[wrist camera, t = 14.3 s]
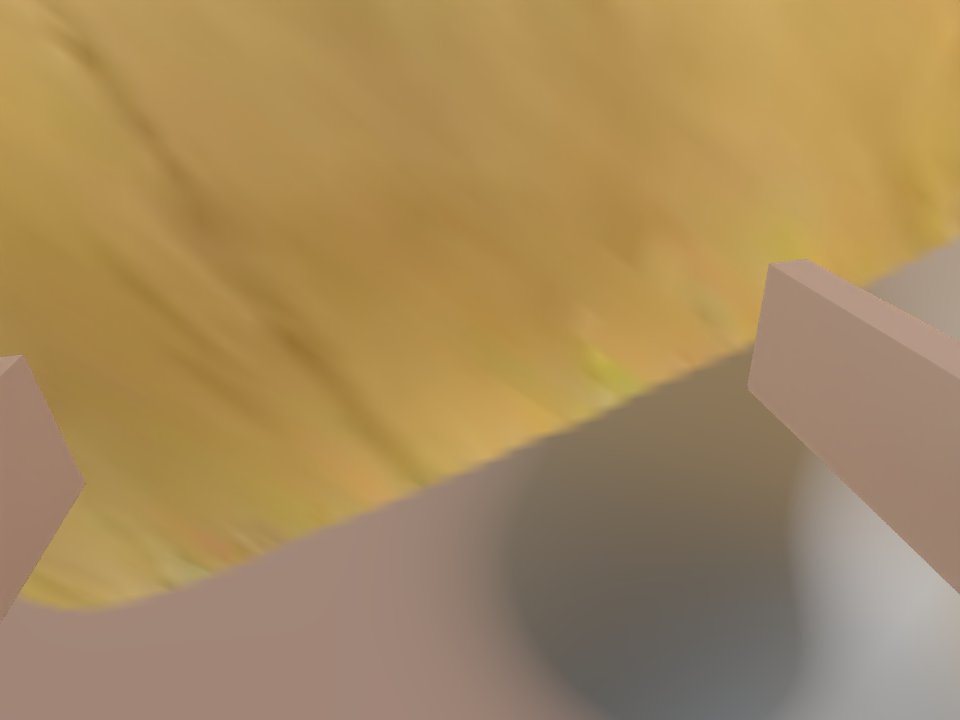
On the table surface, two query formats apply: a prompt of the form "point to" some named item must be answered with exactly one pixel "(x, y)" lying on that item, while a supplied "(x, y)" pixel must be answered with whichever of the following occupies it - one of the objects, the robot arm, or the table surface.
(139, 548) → the table surface
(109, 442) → the table surface
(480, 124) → the table surface
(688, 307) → the table surface
